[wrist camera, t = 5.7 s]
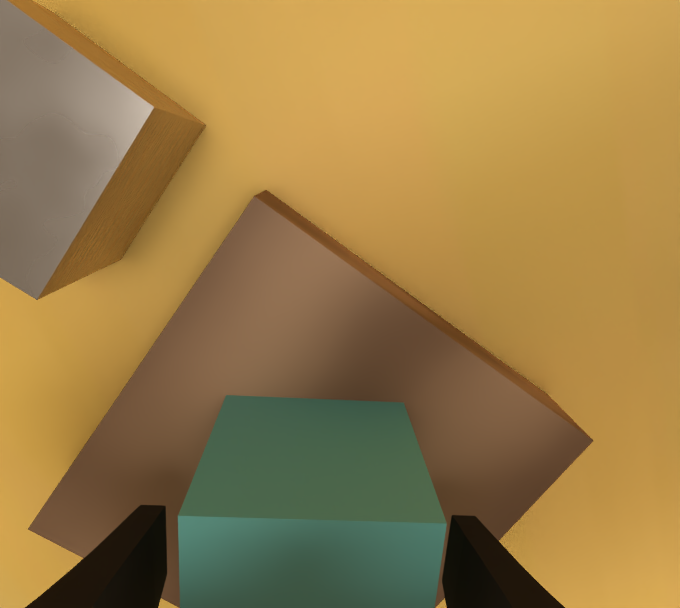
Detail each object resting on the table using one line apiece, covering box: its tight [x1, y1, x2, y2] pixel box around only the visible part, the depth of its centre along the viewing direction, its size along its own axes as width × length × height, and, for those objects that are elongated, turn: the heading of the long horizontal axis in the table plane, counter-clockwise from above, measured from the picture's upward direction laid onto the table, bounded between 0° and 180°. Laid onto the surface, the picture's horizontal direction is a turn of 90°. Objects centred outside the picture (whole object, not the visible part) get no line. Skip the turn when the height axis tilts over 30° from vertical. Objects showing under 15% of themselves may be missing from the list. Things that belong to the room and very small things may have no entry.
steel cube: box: [0, 0, 206, 300], centre depth 13 cm, size 5×5×5 cm
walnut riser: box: [28, 190, 593, 608], centre depth 16 cm, size 12×12×3 cm
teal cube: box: [178, 395, 447, 608], centre depth 12 cm, size 5×5×5 cm
